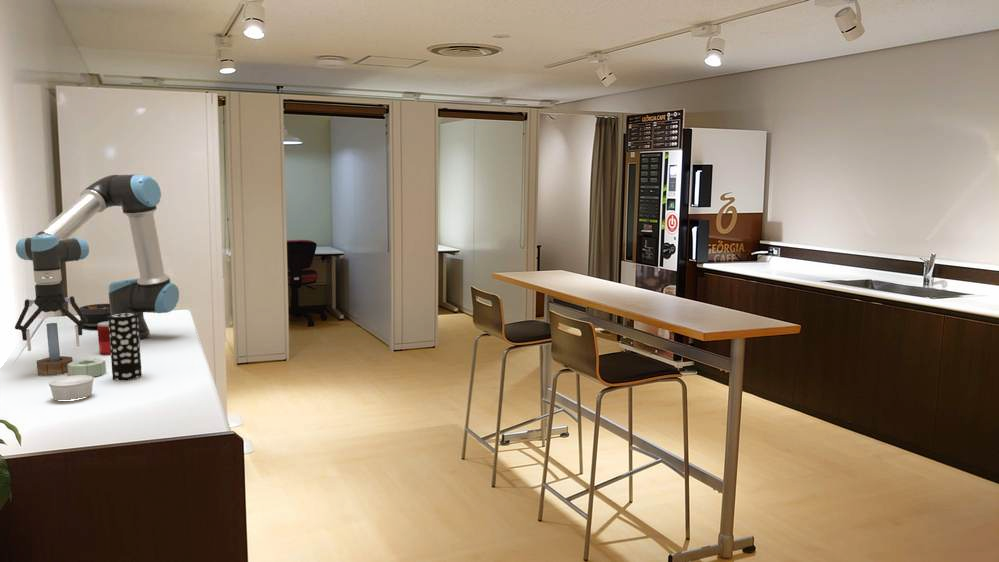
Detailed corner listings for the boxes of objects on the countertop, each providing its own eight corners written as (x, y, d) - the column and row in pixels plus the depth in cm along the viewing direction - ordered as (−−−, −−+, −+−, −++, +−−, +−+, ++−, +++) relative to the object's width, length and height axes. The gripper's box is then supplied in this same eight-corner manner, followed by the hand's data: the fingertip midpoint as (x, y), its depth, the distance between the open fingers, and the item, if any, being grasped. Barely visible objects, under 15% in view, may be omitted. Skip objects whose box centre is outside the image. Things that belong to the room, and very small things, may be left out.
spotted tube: (147, 375, 240) (143, 313, 237) (127, 381, 232) (122, 318, 230) (127, 372, 243) (123, 312, 240) (106, 379, 235) (101, 316, 232)
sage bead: (96, 369, 248) (95, 357, 247) (110, 373, 242) (109, 361, 241) (64, 375, 240) (63, 363, 239) (77, 380, 234) (76, 367, 233)
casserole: (72, 323, 328) (70, 304, 327) (119, 318, 339) (117, 300, 338) (80, 332, 308) (78, 312, 307) (130, 327, 319) (128, 307, 318)
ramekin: (63, 405, 208) (62, 387, 207) (42, 399, 214) (40, 381, 213) (102, 395, 217) (101, 378, 217) (81, 390, 223) (80, 373, 222)
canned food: (113, 355, 267) (111, 325, 265) (94, 354, 269) (92, 324, 267) (128, 350, 274) (126, 321, 273) (109, 349, 276) (107, 320, 274)
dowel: (61, 370, 246) (57, 322, 244) (61, 372, 244) (56, 324, 241) (50, 371, 245) (46, 323, 243) (50, 373, 242) (46, 324, 240)
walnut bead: (73, 366, 251) (72, 355, 250) (73, 373, 242) (72, 361, 242) (38, 370, 246) (37, 358, 246) (37, 377, 237) (36, 365, 237)
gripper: (1, 287, 231) (7, 354, 234) (92, 281, 243) (97, 345, 246) (3, 284, 238) (9, 349, 240) (92, 278, 250) (97, 341, 253)
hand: (54, 347), depth 243 cm, fingers open, 13 cm apart
